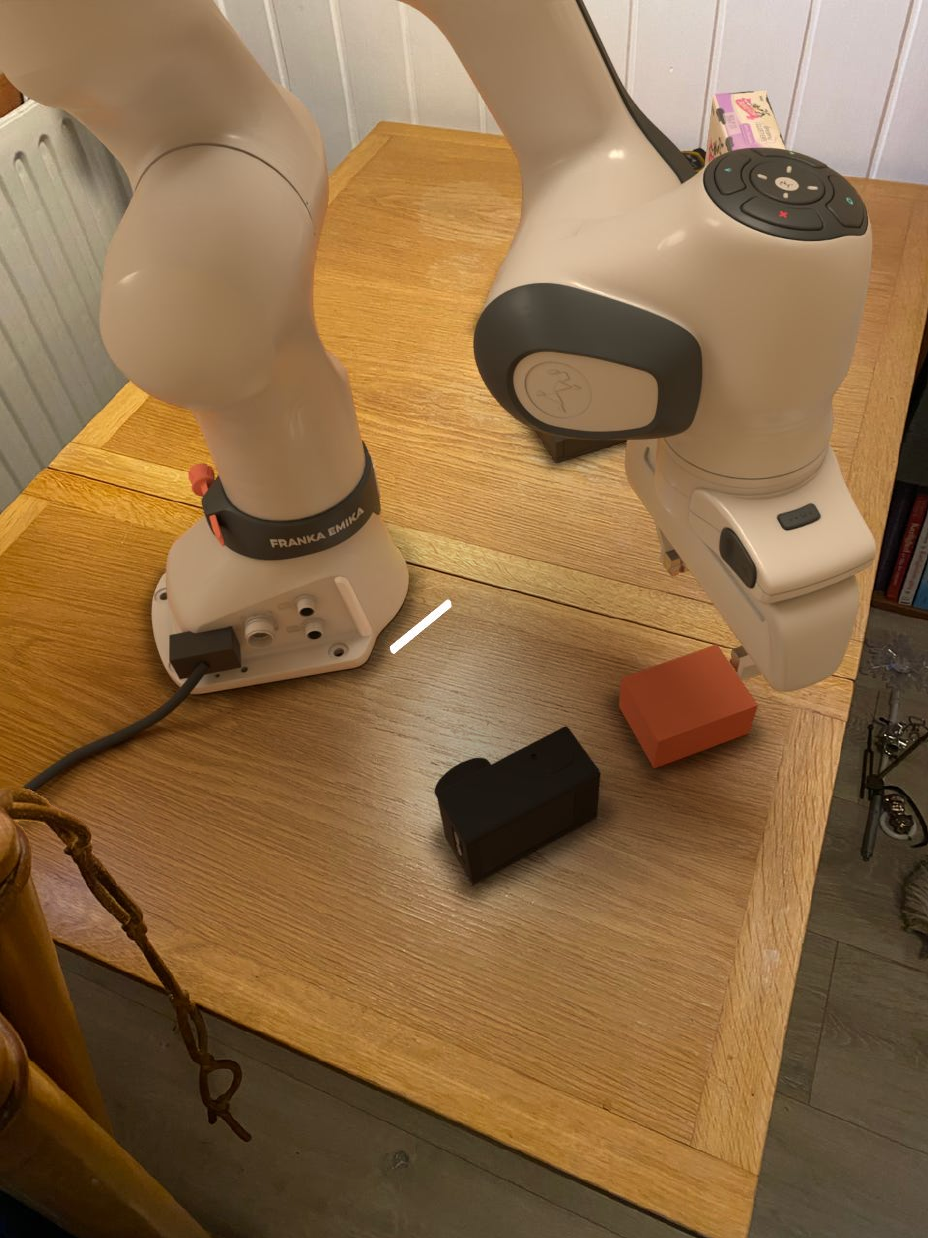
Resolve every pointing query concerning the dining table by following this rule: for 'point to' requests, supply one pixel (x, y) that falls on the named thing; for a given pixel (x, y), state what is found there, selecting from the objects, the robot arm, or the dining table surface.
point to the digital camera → (517, 802)
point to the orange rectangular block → (686, 705)
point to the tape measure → (696, 158)
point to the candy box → (741, 124)
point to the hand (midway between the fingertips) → (709, 615)
